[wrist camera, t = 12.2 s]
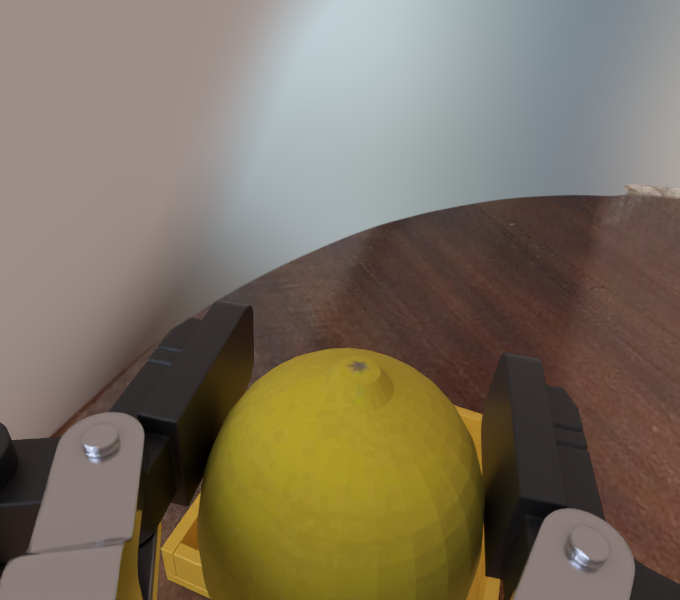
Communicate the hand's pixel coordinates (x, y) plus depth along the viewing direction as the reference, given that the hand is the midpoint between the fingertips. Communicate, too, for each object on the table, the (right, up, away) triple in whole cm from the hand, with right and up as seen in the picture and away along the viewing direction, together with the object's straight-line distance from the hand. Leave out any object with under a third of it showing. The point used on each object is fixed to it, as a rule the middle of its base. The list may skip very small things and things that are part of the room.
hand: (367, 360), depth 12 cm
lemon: (-1, -6, +1) cm, 7 cm away
